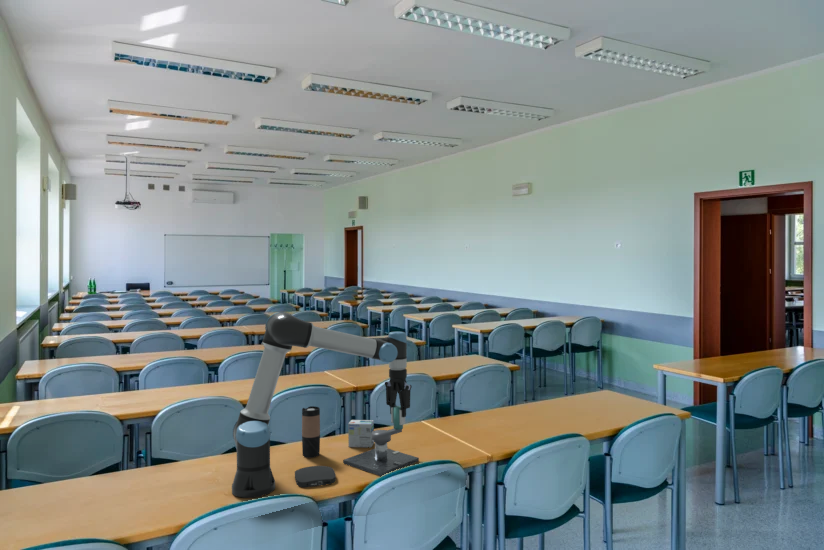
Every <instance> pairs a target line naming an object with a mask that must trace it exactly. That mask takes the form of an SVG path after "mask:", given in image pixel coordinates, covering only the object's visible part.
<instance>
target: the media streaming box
mask: <svg viewBox="0 0 824 550" xmlns="http://www.w3.org/2000/svg"><path fill="white" fill-rule="evenodd" d="M336 477H337V476H336V472H335V469H334V468H333V467H332V466H328V465H327V466H326V465H312V466H306V467H301V468H299V469H296V470H295V471H294V480H295V483H296V486H297V485H298V486H297V487H300V488H312V487H322V486H321V485H323V486H327V485H326V484H330V485H332V484H331V483H333V484H335V483H336V482H335V481H337V478H336ZM334 482H335V483H334Z"/></svg>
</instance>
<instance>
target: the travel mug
mask: <svg viewBox="0 0 824 550" xmlns="http://www.w3.org/2000/svg"><path fill="white" fill-rule="evenodd" d="M320 410H321V409H320V407H319V406H314V405H313V406H310V405H309V406H308V407H302V409H301V441H302V442H301V445H302V448H301V449H302V457H303V456H304V458H306V459H311V458H316V457H317V458H318V457H319V456H320V454H321V453H320V450H321V449H320V448H321V446H320V445H321V411H320Z"/></svg>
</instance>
